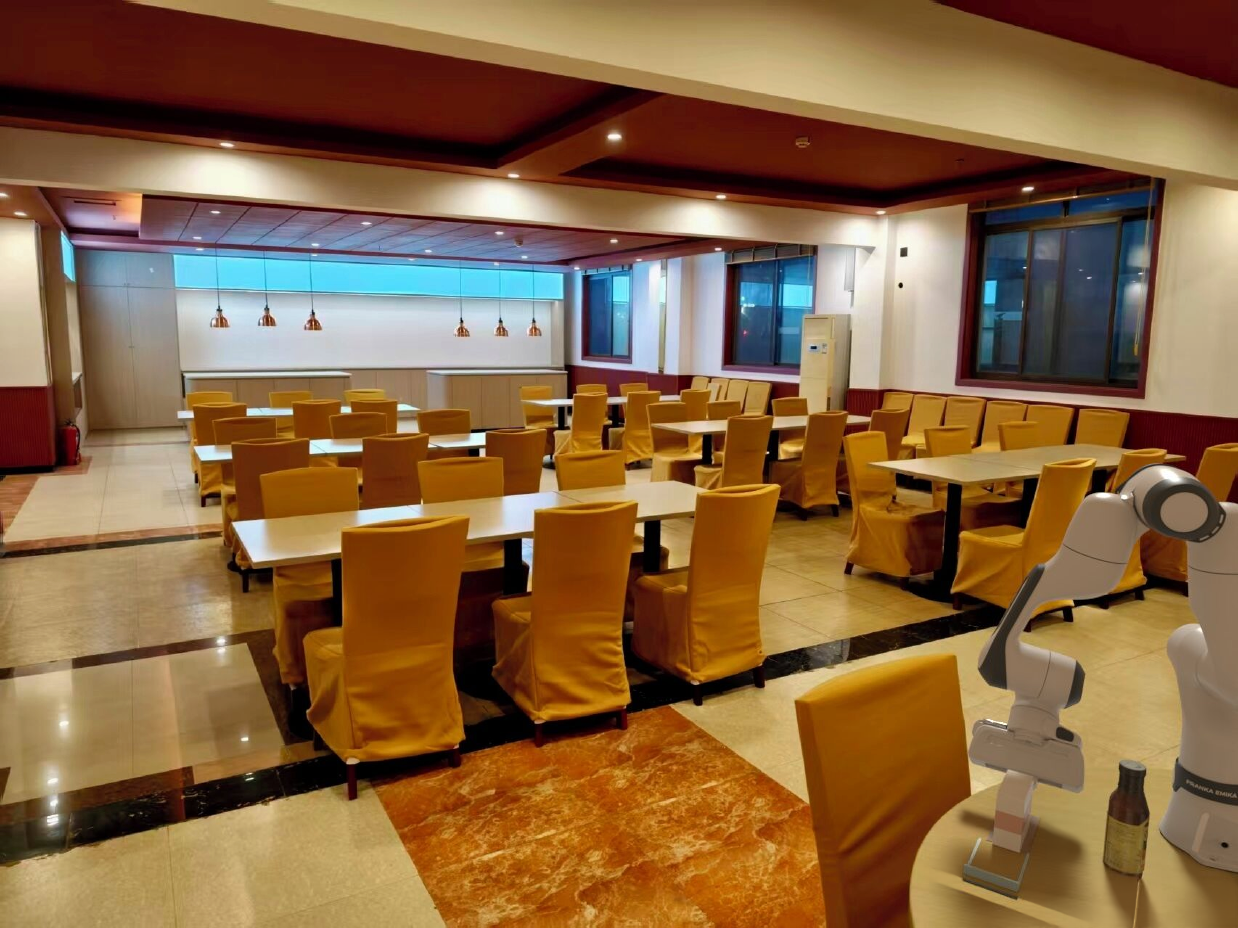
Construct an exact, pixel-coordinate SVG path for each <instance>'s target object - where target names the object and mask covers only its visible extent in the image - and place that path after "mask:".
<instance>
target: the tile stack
mask: <svg viewBox="0 0 1238 928" xmlns="http://www.w3.org/2000/svg"><path fill="white" fill-rule="evenodd" d="M1033 784H1034V776H1030V775H1027V774H1023V773H1020V772H1016V771H1013V770H1009V769H1008V770H1007V772H1006V773H1005V774H1004V776H1003V779H1002V781H1001V783H1000V786H999V788H998V790H997V792H996V802H995V811H994V812H995V814H994V820H995V822H994V821H993V823H994V832H993V842H991V843H992V845H995V846H997V847H1000V848H1002V849H1003V848H1004V849H1007V850H1008V851H1013V852H1016V853H1021V851H1020V850H1021V848H1022V845H1023V842H1024V839H1025V837H1026V834H1027V831H1028V828H1029V823H1030V815H1031V811H1032V803H1033V802H1032V801H1033V792H1034V790H1033Z"/></svg>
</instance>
